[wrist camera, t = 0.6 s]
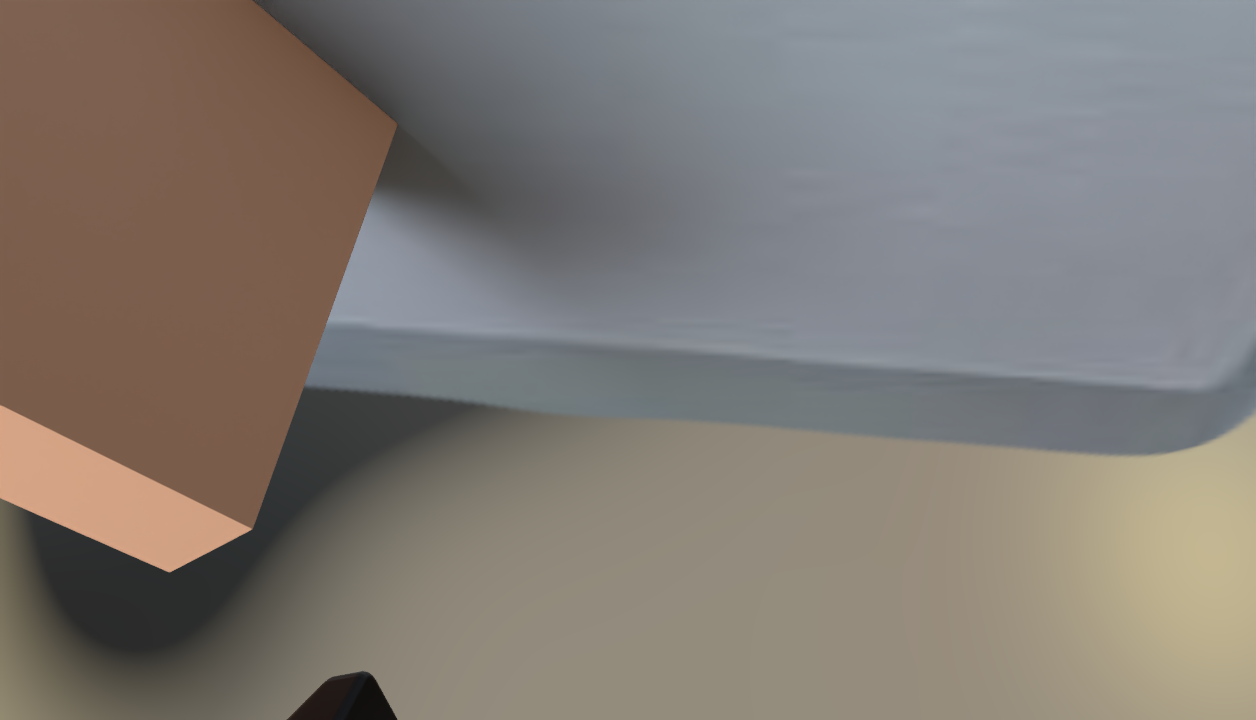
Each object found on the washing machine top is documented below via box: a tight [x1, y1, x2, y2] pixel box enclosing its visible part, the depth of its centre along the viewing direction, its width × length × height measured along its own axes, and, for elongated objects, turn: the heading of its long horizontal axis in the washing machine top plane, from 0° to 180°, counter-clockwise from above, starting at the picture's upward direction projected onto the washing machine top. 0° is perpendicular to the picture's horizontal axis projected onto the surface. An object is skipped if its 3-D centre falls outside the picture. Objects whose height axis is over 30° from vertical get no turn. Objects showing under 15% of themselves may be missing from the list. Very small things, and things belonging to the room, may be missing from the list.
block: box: [0, 0, 398, 572], centre depth 16 cm, size 3×8×10 cm, turn 40°
